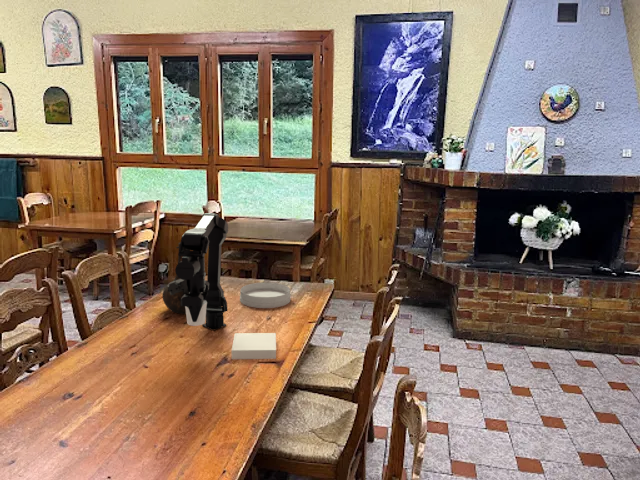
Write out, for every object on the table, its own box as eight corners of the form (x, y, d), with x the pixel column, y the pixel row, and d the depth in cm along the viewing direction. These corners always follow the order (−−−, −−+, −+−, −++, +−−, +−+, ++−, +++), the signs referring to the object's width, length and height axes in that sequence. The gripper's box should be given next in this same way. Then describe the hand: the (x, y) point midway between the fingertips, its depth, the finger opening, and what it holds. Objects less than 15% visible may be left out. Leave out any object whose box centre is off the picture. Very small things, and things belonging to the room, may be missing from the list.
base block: (231, 359, 152) (231, 350, 152) (234, 341, 166) (234, 333, 165) (275, 358, 154) (276, 350, 153) (275, 341, 167) (275, 333, 167)
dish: (230, 304, 204) (230, 293, 203) (252, 290, 225) (252, 280, 224) (279, 311, 198) (279, 300, 197) (297, 296, 218) (297, 285, 217)
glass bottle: (184, 321, 183) (183, 249, 177) (153, 311, 192) (150, 242, 186) (217, 308, 198) (217, 242, 192) (186, 300, 207) (185, 236, 201)
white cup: (201, 327, 151) (201, 306, 150) (181, 325, 153) (180, 304, 151) (210, 320, 158) (210, 299, 156) (191, 317, 159) (190, 297, 158)
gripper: (175, 263, 160) (176, 308, 163) (162, 279, 142) (164, 329, 145) (209, 264, 161) (209, 308, 164) (201, 279, 143) (201, 329, 146)
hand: (196, 318), depth 155 cm, fingers closed on white cup, 6 cm apart
